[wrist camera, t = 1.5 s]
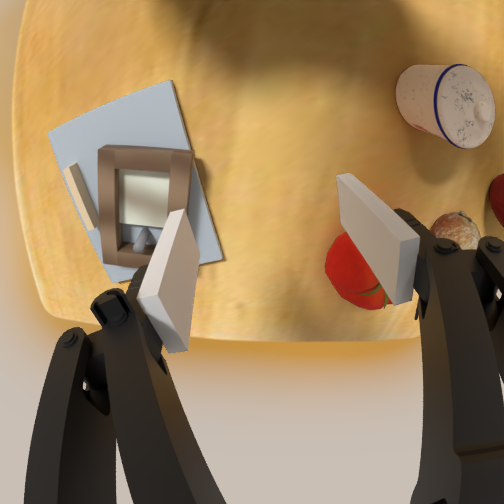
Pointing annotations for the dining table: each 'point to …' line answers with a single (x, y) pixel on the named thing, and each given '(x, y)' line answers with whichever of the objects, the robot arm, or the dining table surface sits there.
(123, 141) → the wall panel
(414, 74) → the teacup with lid
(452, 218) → the bread roll
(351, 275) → the tomato
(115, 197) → the walnut frame
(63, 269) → the dining table surface
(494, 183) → the apple
